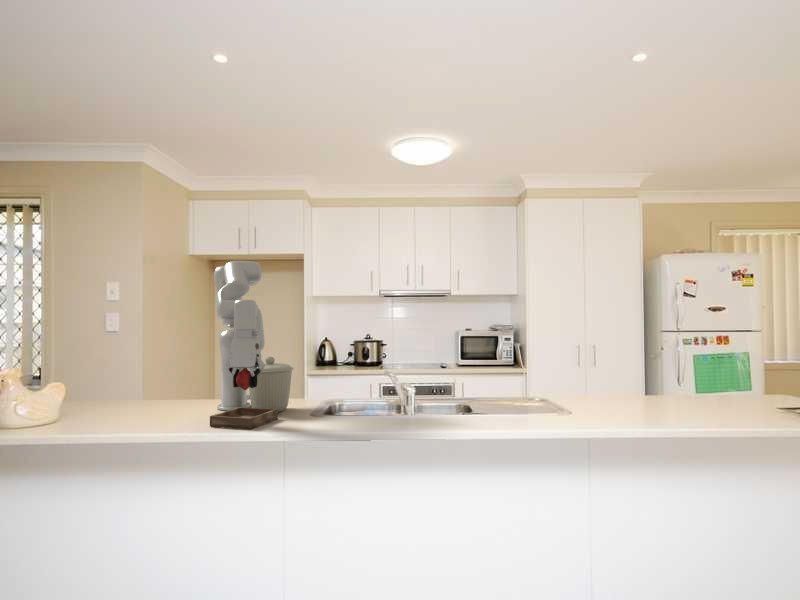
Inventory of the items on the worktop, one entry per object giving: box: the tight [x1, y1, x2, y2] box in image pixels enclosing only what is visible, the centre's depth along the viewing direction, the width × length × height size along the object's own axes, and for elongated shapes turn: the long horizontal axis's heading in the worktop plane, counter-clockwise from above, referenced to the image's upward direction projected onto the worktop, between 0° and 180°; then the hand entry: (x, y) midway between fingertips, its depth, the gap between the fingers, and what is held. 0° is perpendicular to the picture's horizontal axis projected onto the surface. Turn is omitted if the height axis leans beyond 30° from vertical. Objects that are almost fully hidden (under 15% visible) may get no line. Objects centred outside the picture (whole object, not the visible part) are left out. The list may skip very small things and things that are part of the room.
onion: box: [236, 368, 251, 391], centre depth 159 cm, size 6×6×8 cm
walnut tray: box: [209, 407, 279, 430], centre depth 159 cm, size 16×16×4 cm
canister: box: [247, 356, 295, 413], centre depth 179 cm, size 18×18×21 cm
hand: (245, 386), depth 159 cm, fingers closed on onion, 5 cm apart
